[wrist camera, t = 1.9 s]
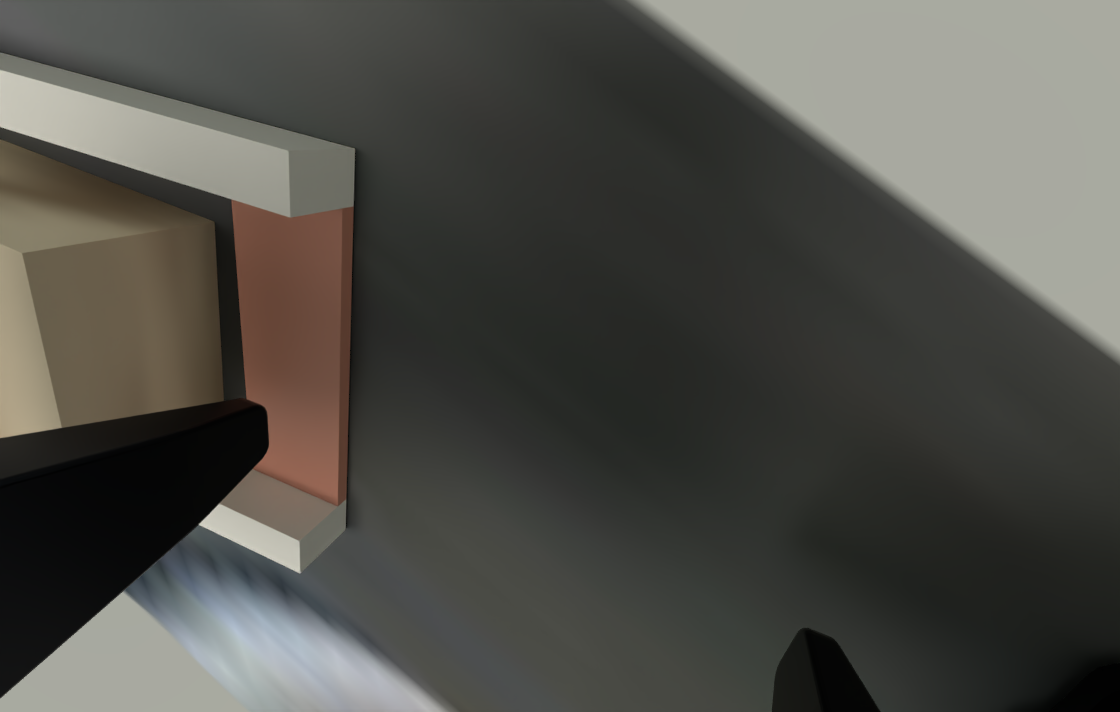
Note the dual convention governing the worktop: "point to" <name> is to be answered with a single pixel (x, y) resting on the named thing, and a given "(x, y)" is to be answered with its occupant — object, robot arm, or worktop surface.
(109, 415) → the birch block
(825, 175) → the worktop surface
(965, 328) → the worktop surface
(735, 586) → the worktop surface
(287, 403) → the channel
